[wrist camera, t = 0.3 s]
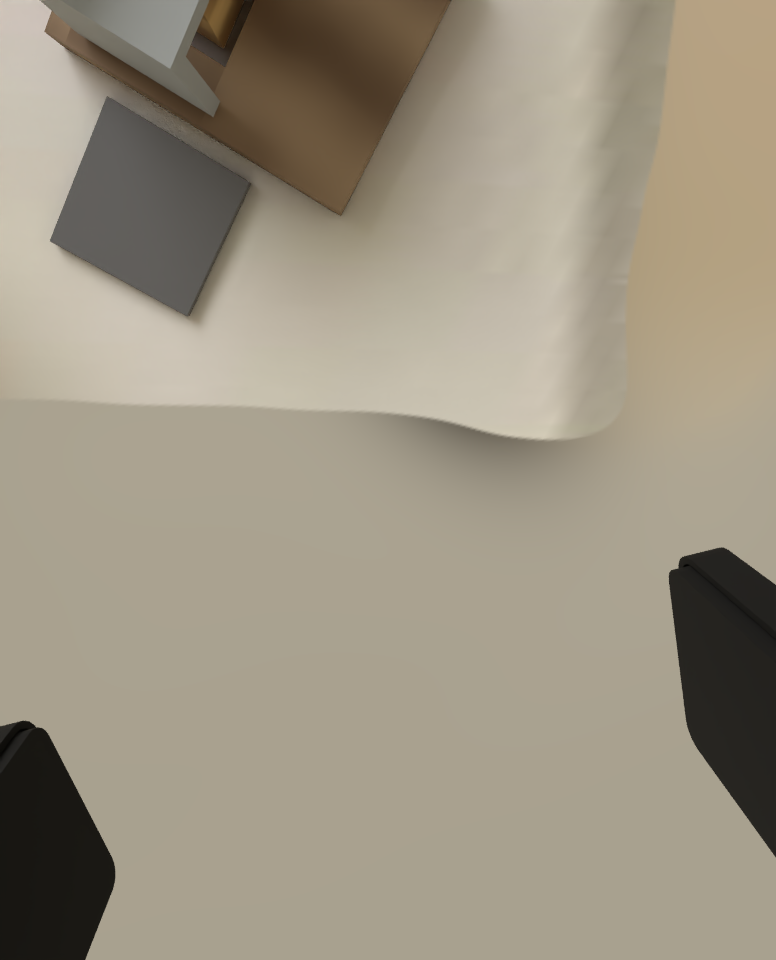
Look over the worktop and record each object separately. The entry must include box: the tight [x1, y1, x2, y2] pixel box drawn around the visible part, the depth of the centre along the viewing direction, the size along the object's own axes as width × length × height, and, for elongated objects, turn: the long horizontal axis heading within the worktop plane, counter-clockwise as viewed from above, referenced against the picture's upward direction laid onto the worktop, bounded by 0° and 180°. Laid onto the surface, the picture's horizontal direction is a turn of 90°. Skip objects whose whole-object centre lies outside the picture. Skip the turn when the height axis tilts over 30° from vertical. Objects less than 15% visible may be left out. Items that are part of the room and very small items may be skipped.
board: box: [45, 0, 451, 216], centre depth 31 cm, size 13×16×2 cm
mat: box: [50, 96, 251, 316], centre depth 34 cm, size 8×8×1 cm
